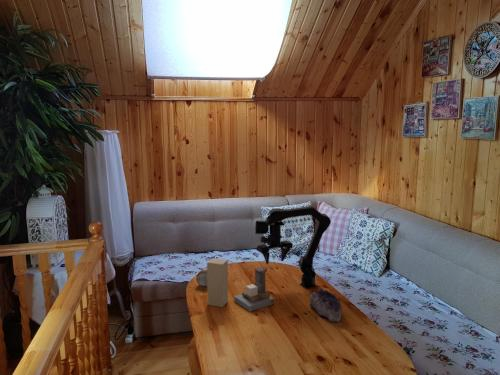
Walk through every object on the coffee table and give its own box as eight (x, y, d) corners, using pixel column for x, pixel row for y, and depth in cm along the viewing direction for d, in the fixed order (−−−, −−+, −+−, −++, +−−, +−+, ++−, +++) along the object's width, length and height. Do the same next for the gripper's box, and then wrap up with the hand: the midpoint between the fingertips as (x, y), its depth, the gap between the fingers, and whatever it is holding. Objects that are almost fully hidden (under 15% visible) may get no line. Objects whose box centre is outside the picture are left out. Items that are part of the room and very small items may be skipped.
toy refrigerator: (228, 300, 196) (228, 259, 193) (222, 307, 190) (222, 264, 186) (213, 298, 199) (212, 257, 196) (207, 304, 192) (206, 262, 189)
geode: (352, 320, 177) (351, 300, 175) (328, 328, 174) (327, 307, 171) (328, 299, 196) (327, 280, 194) (307, 306, 193) (305, 287, 190)
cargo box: (252, 291, 196) (252, 284, 195) (257, 294, 193) (257, 286, 192) (245, 293, 194) (245, 286, 193) (250, 296, 190) (250, 288, 190)
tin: (225, 285, 215) (225, 270, 213) (224, 288, 212) (224, 272, 210) (197, 284, 216) (196, 269, 215) (195, 286, 213) (195, 271, 212)
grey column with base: (259, 290, 201) (258, 265, 199) (270, 297, 194) (269, 271, 192) (242, 296, 196) (241, 270, 194) (252, 302, 188) (252, 276, 186)
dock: (258, 294, 204) (258, 289, 203) (273, 303, 193) (273, 298, 193) (234, 301, 196) (234, 296, 196) (249, 311, 186) (249, 306, 185)
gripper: (281, 227, 220) (281, 255, 223) (251, 232, 211) (251, 261, 214) (293, 232, 211) (293, 261, 213) (262, 237, 201) (262, 267, 204)
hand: (274, 262), depth 211 cm, fingers open, 9 cm apart
